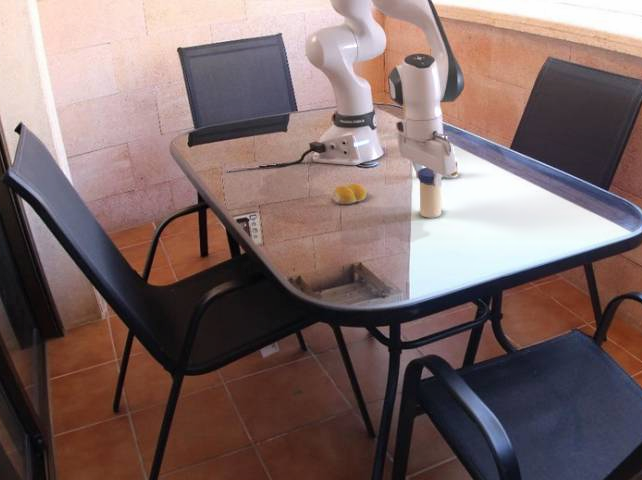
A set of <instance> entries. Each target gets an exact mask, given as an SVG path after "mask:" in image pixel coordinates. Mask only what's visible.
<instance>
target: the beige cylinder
mask: <svg viewBox="0 0 642 480" xmlns="http://www.w3.org/2000/svg"><path fill="white" fill-rule="evenodd" d="M419 213H420V215H421V216H422V217H424V218H429V219H432V218H438V217H439V216H441V214H442V185H441V186H440V187H435V186H433V185H432V184H426V183H423V182H421V181H420V180H419Z"/></svg>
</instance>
